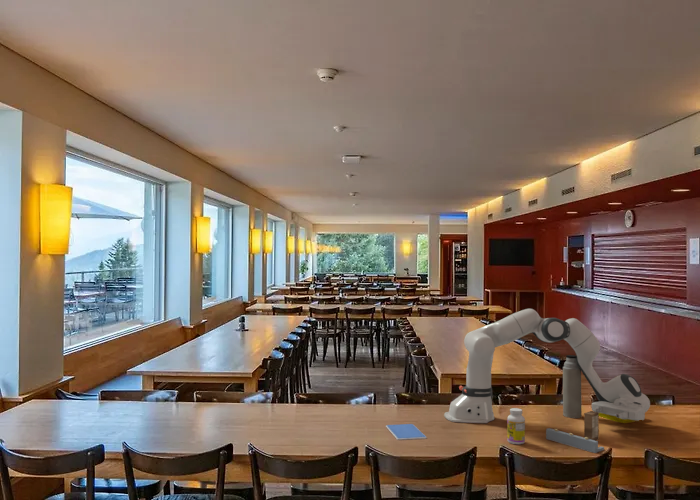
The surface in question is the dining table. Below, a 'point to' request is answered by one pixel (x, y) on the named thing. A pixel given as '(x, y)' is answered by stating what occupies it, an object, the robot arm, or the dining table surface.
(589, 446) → the rail
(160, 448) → the dining table surface
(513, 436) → the supplement bottle
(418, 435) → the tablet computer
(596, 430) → the brown rectangular box
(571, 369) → the thermos bottle
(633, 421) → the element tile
